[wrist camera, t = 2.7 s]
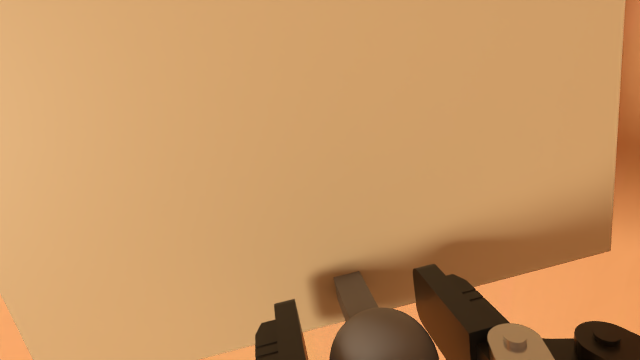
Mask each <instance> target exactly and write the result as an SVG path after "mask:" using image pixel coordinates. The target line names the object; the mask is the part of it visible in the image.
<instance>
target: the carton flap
mask: <svg viewBox="0 0 640 360" xmlns="http://www.w3.org/2000/svg"><path fill="white" fill-rule="evenodd" d="M624 16H625V0H0V294H1V296H2V298H3V300H4V302H5V304H6V306H7V308H8V310H9V312H10V314H11V316H12V318H13V320H14V322H15V324H16V326H17V328H18V330H19V332H20V334H21V336H22V339H23V341H24V343H25V345H26V347H27V349H28V351H29V353H30V355H31V357H32V359H33V360H200V359H204V358H208V357H211V356H215V355H219V354H223V353H226V352H230V351H234V350H238V349H242V348H245V347H249V346H253V345H255V334H256V332H257V330H258V329H259V327H260V325H261V323H263V322H267V321H271V320H275V312H274V304H275V303H279V302H283V301H287V300H291V299H295V302H296V306H297V311H298V315H299V319H300V324H301V328H302V332H306V331H310V330H313V329H317V328H321V327H325V326H328V325H332V324H336V323H340V322H344V321H346V322H345V324H344V325H343V326H342V327H341V328H340V330H339V331H338V333H337V335H336V337H335V339H334V341H333V344H332V347H331V352H330V360H439V357H438V353H437V350H436V347H435V345H434V343H433V341H432V339H431V337H430V336H429V334H428V333H427V332H426V330H425V329H424V328H423V327H422V325H420V324H419V323H418V322H417V321H416V320H415V319H414V318H412V317H411V316H409V315H407V314H406V313H403V312H401V311H398V310H395V309H393V308H396V307H400V306H404V305H408V304H412V303H415V302H416V299H415V291H414V282H413V269H414V268H418V267H422V266H426V265H430V264H435V265H437V267H438V268H439V269H440V270H441V271H442V272H443V273H444V274H445V275H450V274H454V275H457V276H459V277H461V278H463V279H465V280H467V281H468V282H469V283H470V284H471V285H472V286H473V287H476V286H480V285H483V284H487V283H491V282H495V281H498V280H502V279H506V278H510V277H514V276H517V275H521V274H525V273H529V272H532V271H536V270H540V269H544V268H548V267H551V266H555V265H559V264H563V263H566V262H570V261H574V260H578V259H582V258H585V257H589V256H593V255H597V254H600V253H604V252H608V251H611V235H612V218H613V201H614V185H615V168H616V151H617V134H618V117H619V100H620V83H621V67H622V50H623V33H624Z"/></svg>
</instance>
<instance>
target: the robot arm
mask: <svg viewBox="0 0 640 360" xmlns="http://www.w3.org/2000/svg"><path fill="white" fill-rule="evenodd" d="M413 282H414V291H415V299H416V307H417V311H418V315H419V317H420V320H421V322H422V324H423V325H424V327H425V328H426V330H427V331H428V333H429V334H430V336H431V337H432V339H433V340H434V342H435V343H436V345H437V346H438V348H439V349H440V351H441V352H442V354H443V355H444V357H445V358H446V360H640V336H639V335H637V334H635V333H632V332H630V331H628V330H626V329H624V328H622V327H619V326H617V325H614V324H611V323H607V322H600V321H590V322H585V323H582V324H580V325H578V326H577V327H576V329H575V332H574V339H544V338H541V337H540V335H539V334H538V333H536V332H535V331H534V330H532V329H530V328H528V327H526V326H523V325H519V324H512V323H509V322H508V321H507V320H506V319H505V318H504V317H503V316H502V315H501V314H500V313H499V312H498V311H497V310H496V309H495V308H494V307H493V306H492V305H491V304H490V303H489V302H488V301H487V300H486V299H485V298H483V296H482V295H481V294H480V293H479V292H478V291H476V290H475V288H474V287H473V286H472V285H471V284H470V283H469V282H468V281H467V280H465V279H463V278H461V277H459V276H457V275H454V274H450V275H445V274H444V273H443V272H442V271H441V270H440V269H439V268H438V267H437V265H435V264H430V265H426V266H422V267H418V268H414V269H413ZM274 312H275V320H271V321H267V322H263V323H261V325H260V327H259V329H258V330H257V332H256V334H255V348H256V349H255V357H256V360H308V356H307V351H306V346H305V341H304V337H303V332H302V328H301V324H300V319H299V315H298V311H297V306H296V302H295V299H291V300H287V301H283V302H279V303H275V304H274Z"/></svg>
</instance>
